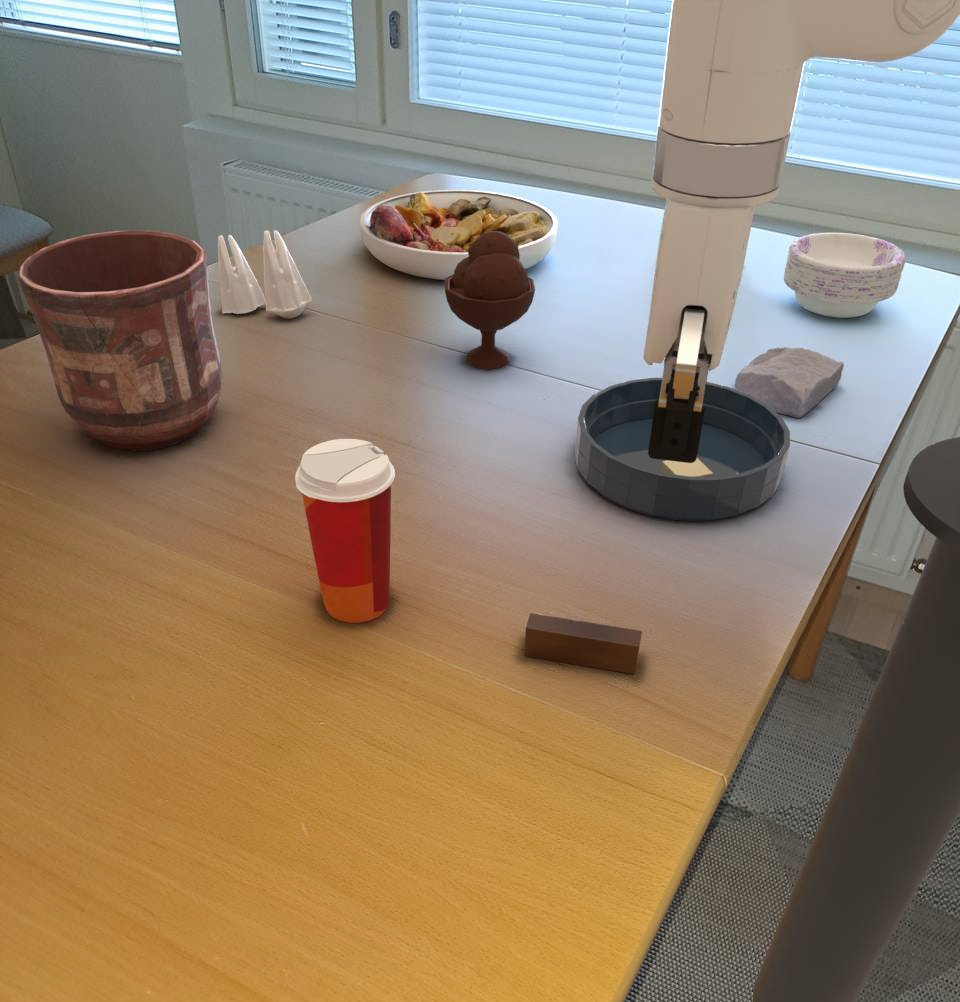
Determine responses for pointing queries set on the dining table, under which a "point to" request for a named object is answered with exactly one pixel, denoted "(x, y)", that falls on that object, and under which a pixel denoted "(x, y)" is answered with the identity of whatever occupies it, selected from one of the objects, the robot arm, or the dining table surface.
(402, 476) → the dining table surface
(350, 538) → the paper cup
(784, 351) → the stone block
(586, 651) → the brown wooden stick
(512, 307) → the ice cream bowl
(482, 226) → the bowl
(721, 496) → the bowl
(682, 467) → the block
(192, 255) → the pottery
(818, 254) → the paper bowls
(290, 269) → the shaker set
